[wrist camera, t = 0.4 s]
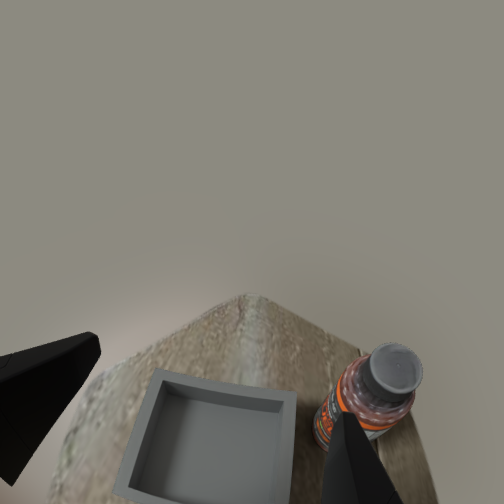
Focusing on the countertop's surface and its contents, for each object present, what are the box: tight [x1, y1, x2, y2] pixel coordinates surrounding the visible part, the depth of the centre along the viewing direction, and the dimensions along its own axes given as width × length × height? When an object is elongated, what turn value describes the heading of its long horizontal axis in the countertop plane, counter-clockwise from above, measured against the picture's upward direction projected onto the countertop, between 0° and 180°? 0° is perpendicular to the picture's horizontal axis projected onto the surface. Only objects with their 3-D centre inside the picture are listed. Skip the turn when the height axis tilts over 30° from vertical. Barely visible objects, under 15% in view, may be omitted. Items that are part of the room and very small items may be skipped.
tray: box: [112, 368, 297, 504], centre depth 18 cm, size 12×12×4 cm
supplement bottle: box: [312, 343, 423, 452], centre depth 18 cm, size 6×6×11 cm
